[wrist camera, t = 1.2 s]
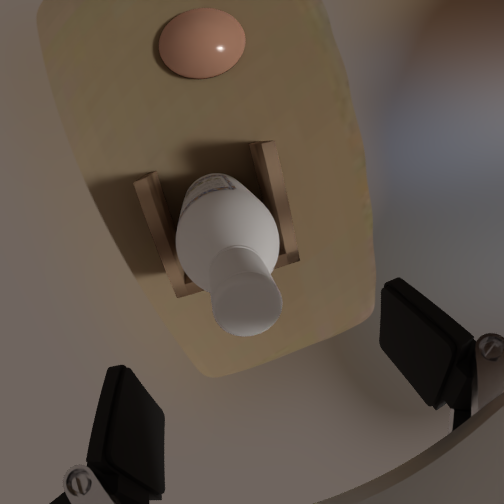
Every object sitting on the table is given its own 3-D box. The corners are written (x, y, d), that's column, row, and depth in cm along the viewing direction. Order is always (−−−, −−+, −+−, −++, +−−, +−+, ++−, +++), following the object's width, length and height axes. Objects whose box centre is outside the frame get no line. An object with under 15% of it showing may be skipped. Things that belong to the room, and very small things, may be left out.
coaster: (152, 22, 20) (152, 20, 19) (233, 4, 21) (234, 2, 20) (168, 89, 24) (168, 88, 23) (253, 69, 24) (254, 67, 24)
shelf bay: (145, 174, 27) (133, 182, 21) (259, 141, 28) (274, 140, 22) (179, 271, 31) (177, 298, 26) (282, 240, 32) (299, 260, 27)
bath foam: (172, 218, 29) (139, 341, 11) (203, 160, 27) (212, 193, 9) (228, 245, 31) (272, 382, 13) (259, 191, 30) (356, 273, 11)
